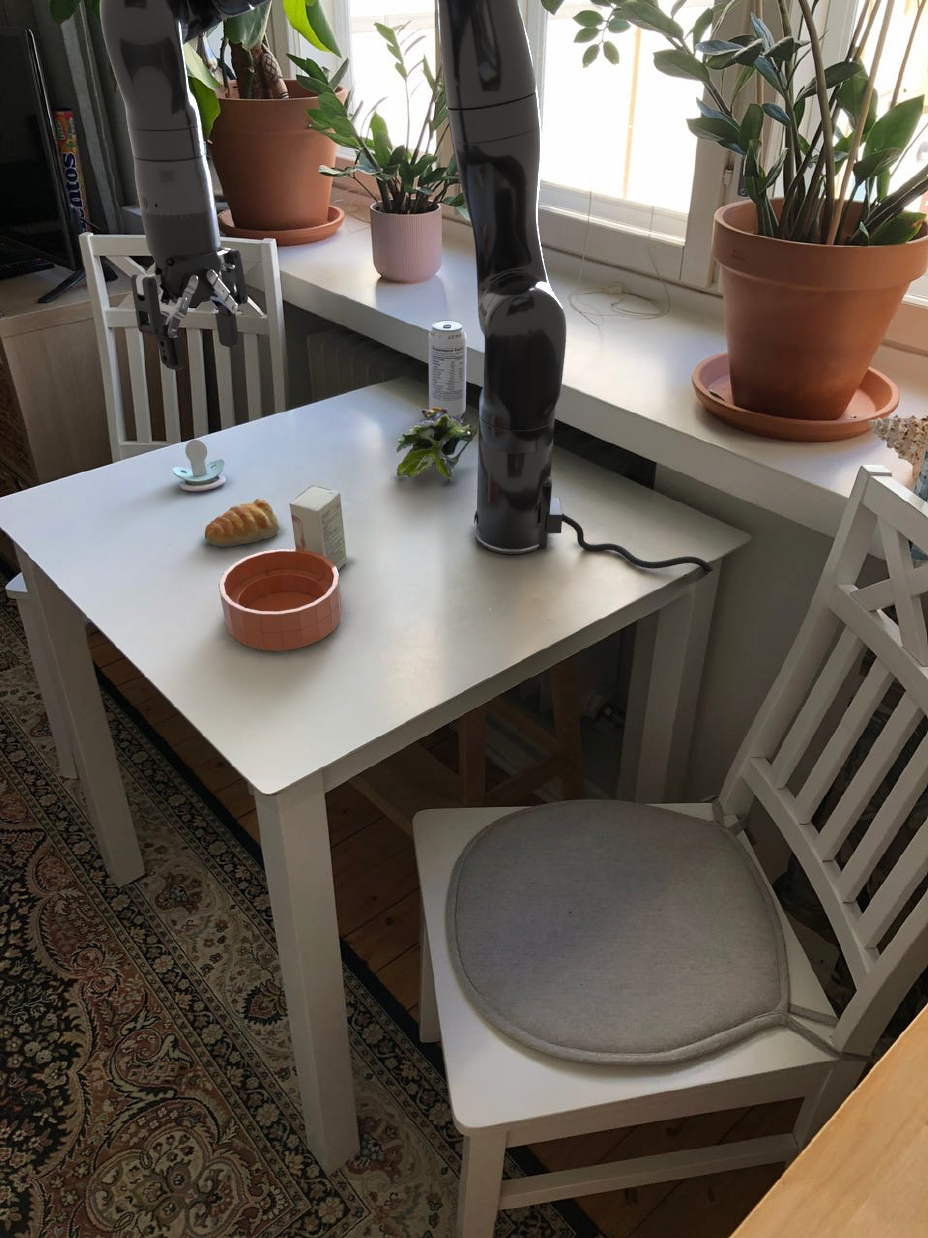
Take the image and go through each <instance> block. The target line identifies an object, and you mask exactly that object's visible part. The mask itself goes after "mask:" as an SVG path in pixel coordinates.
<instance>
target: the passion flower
mask: <svg viewBox="0 0 928 1238" xmlns="http://www.w3.org/2000/svg"><path fill="white" fill-rule="evenodd" d="M447 412H448V409H447V408H443V409H440V408H437V407H434V408H432V410H429V408H427V409H425V408H424V409H422V410H421V413H422V416H423V418H425V419H428V420H425V419H423V421H422V420H421V419H419V422H415V424H411V426H412V428H408V430H407V433H401V437H402V439H397V440H396V441H397V443H399V444H398V446H397V447H396V451H395V452H396V453H397V454H398V453H399V452H400V451H402V449H404V450H405V449H407V448H408V447H411V446H412V447H411V449H409V451H408V452H407V453H406V455H405V456H404V458H403V459H402V461H401V462H400V463H398V466H397V467H396V476H397V477H398V478H399V479H400V478H402V477H404V476H407V477H409V478H413V477H415V476H418V475H420V474H422V473H423V472H424V471H426V470H428V469H429V468H430V467H431V466H433V465H435V467H436V469H437V471H438V472H439V473H440V474H441V475H442V476H444V477H445V478H447V485H449V484H450V481H451V479H452V476H453V472H454V470H455V467H456V466H457V464H458V463H459V459H460V457H461V455H462V454H463V452H464V451H465V449H466V448H467V447H468V445H469V444H470V442H472V441H473V440H474V438H475V436H476V435H477V430H478V428H477V425H475V426H474V427H473V429H472V424H467V423H465V422H464V420H465V419H464V418H461V417H457V418H456V419H455V418H454V417H451V416H450V415H446V413H447ZM439 417H440V418H439ZM438 418H439V419H438ZM460 441H463V442H465V443H464V445H463V446H462V449H461V450H460V451H459V452H458V453H457V454H456V455H455V456H454V457H450V456H452V455H454V454H455V452H456V448H457V446H458V444H459V443H460Z"/></svg>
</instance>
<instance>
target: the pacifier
mask: <svg viewBox="0 0 928 1238" xmlns="http://www.w3.org/2000/svg"><path fill="white" fill-rule="evenodd" d="M184 450H185V455H186V458H187V459H188V460H189V462H190V468H189V467H184V466H174V467H172V473H173V474H174V475H175V476H176V477H178V478H179V479H181V480H182V481H181V483H180V484H179V487H180V489H181V490H184V491H188V492H202V491H208V490H212V489H216V488H218V487H221V486H222V485H223V484H225V482H226V480H227V479H226V477H225V476H224V475H221V473H222V472H223V471H224V469H225V466H226V462H225V460H224V459H217V460H213V461H212V462H209V463H208V464H207V461H206V459H207V456H208V447H207V445H206V444H205V443H204V441H202V440H200V439H196V438H195V439H191V440H189V441H188V442H187V443H186V445H185V448H184ZM215 480H216V481H215Z"/></svg>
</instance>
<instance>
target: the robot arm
mask: <svg viewBox="0 0 928 1238" xmlns="http://www.w3.org/2000/svg"><path fill="white" fill-rule="evenodd" d="M271 1H272V0H99V17H100V23H101V24H100V25H101V31H102V36H103V40H104V44H105V48H106V51H107V55H108V57H109V58H108V59H109V61H110V64H111V67H112V71H113V73H114V78H115V80H116V83H117V86H118V89H119V93H120V95H121V97H122V101H123V103H124V109H125V118H126V125H127V130H128V135H129V136H128V137H129V141H130V147H131V153H132V156H133V165H134V180H135V187H136V193H137V198H138V203H139V209H140V214H141V221H142V225H143V230H144V236H145V241H146V242H145V243H146V246H147V250H148V252H149V254H150V255H151V257H152V258H153V261H154V270H153V273H149V274H145V275H144V274H143V275H142V274H138V273H133V274H132V275H131V276H130V285H131V291H132V298H133V304H134V311H135V317H136V323H137V324H136V325H137V329H138V331H139V332H140V333H143V334H146V335H151V336H153V337H156V341H157V345H158V350H159V357H160V361H161V363H162V364H163V365H164V366H165V367H166V368H167V369H170V370H173V371H179V370H182V369H184V361H183V354H182V350H181V344H180V337H179V335H177V334H178V330H179V327H180V323H181V321H182V319H183V320H184V318H185V317H186V316H187V313H188V311H189V308H190V309H191V308H193V307H195V306H197V305H198V304H200V303H206V302H209V303H210V304H211V305H212V306H213V307H214V308H215V310H217V312H215V313H214V315H215V323H216V328H217V335H218V341H219V343H220V345H221V346H223V347H226V348H234V347H237V346H238V340H239V331H238V323H237V316H236V315H237V312H238V311H239V307H240V306H241V305H242V304H243V305H246V304H247V303H248V301H249V295H248V289H247V283H246V278H245V277H246V276H245V271H244V266H243V259H242V255H241V251H239V250H238V249H234V248H229V247H223V246H221V245H222V244H221V243H222V242H221V236H220V235H221V233H220V228H219V220H218V214H217V213H218V212H217V206H216V201H215V194H214V185H213V180H212V179H213V178H212V174H211V171H210V170H211V169H210V167H209V164H208V160H207V154H206V148H205V147H206V146H205V140H204V139H205V138H204V133H203V132H204V131H203V125H202V119H201V115H200V110H199V109H200V108H199V106H198V102H197V100H196V97H195V95H194V94H193V92H192V91H191V89H190V86H189V80H188V73H187V65H186V60H185V53H184V48H183V47H184V45H185V44H187V43H189V42H190V41H192V40H194V39H196V38H197V37H199V36H201V35H202V34H204V33H207V31H209V30H211V29H213V28H214V27H216V26H217V25H219V24H220V23H222V22H224V21H226V20H227V19H232V18H235V17H238V16H241V15H245V14H247V13H249V12H251V11H253V10H255V9H257V8H260V7H261V6H263V5H265V4H268V3H269V2H271ZM437 10H438V11H437V12H438V26H439V27H438V33H439V49H440V61H441V72H442V73H441V74H442V81H443V91H444V100H445V101H444V102H445V107H446V114H447V119H448V126H449V133H450V139H451V144H452V149H453V150H452V151H453V155H454V159H455V163H456V170H457V174H458V179H459V183H460V188H461V192H462V196H463V199H464V202H465V207H466V210H467V214H468V217H469V221H470V225H471V230H472V236H473V243H474V254H475V255H474V256H475V269H476V270H475V271H476V289H477V290H476V291H477V294H476V295H477V317H478V318H477V319H478V323H479V327H480V330H481V333H482V335H483V338H484V359H483V362H484V363H483V382H482V383H483V385H482V389H481V391H480V393H479V401H478V440H477V441H478V444H477V445H478V446H477V448H478V450H477V481H476V482H477V483H476V485H477V487H476V511H475V513H474V516H473V525H475V526H476V527H475V539H476V541H477V542H478V543H479V545H481V546H482V547H484V548H485V549H487V550H489V551H492V552H496V553H500V554H503V555H521V554H527V553H531V552H534V551H536V550H538V549H547V548H548V544H549V534H562V528H563V523H565V524H566V525H569V526H570V527H571V528H573V529H574V531H575V532H576V536H577V537H576V541H577V544H578V546H579V547H580V548H582V549H583V550H586V551H588V552H601V551H612V552H613V551H614V552H616V553H618V554H620V555H622V556H623V557H624V558H625V559H626V560H627V561H629V562H630V563H631V564H633V565H635V566H637V567H641V568H644V569H651V570H652V569H653V570H654V569H656V570H657V569H664V568H668V567H669V568H670V567H673V566H678V565H684V564H692V565H693V564H694V565H698V566H699V567H701V568H702V569H703V570H704V571H708V572H711V571H713V567H712V566H711V565H710V564H709V563H708V562H707V561H706V560H703V559H702V558H700V557H697V556H689V555H687V556H679V557H674V558H669V559H664V560H658V561H648V560H643V559H640V558H638V557H637V556H635V555H633V554H632V553H631V552H630V551H629V550H628V549H626V548H625V547H623V546H621V545H618V544H616V543H611V542H610V543H608V542H607V543H599V544H590V543H588V542H586V541H585V538H584V537H585V536H584V535H585V534H584V530H583V528H582V526H581V525H580V524H579V522H577V521H576V520H574V518H572V517H570V516H568V515H566V514H565V513H563V510H562V509H563V508H562V502H561V498H560V497H559V498H555V497H553V498H552V491H553V490H552V489H553V480H552V473H551V472H552V462H553V461H552V458H553V446H554V433H555V432H554V431H555V419H556V417H555V416H556V409H557V404H558V402H559V399H560V396H561V393H562V386H563V385H562V384H563V375H564V368H565V367H564V365H565V358H566V347H567V317H566V314H565V311H564V309H563V306H562V305H561V303H560V302H559V300H558V298H557V296H556V295H555V293H554V292H553V291H552V288H551V286H550V283H549V279H548V275H547V271H546V267H545V263H544V258H543V252H542V246H541V240H540V233H539V225H538V223H539V222H538V203H539V202H538V201H539V192H540V183H541V170H542V128H541V117H540V116H541V115H540V108H539V97H538V89H537V81H536V76H535V70H534V69H535V68H534V63H533V58H532V54H531V49H530V45H529V39H528V35H527V31H526V28H525V23H524V19H523V16H522V12H521V8H520V4H519V2H518V0H437ZM219 275H220V276H221V279H220V278H219ZM170 302H172V303H173V304H175V305H170Z"/></svg>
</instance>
